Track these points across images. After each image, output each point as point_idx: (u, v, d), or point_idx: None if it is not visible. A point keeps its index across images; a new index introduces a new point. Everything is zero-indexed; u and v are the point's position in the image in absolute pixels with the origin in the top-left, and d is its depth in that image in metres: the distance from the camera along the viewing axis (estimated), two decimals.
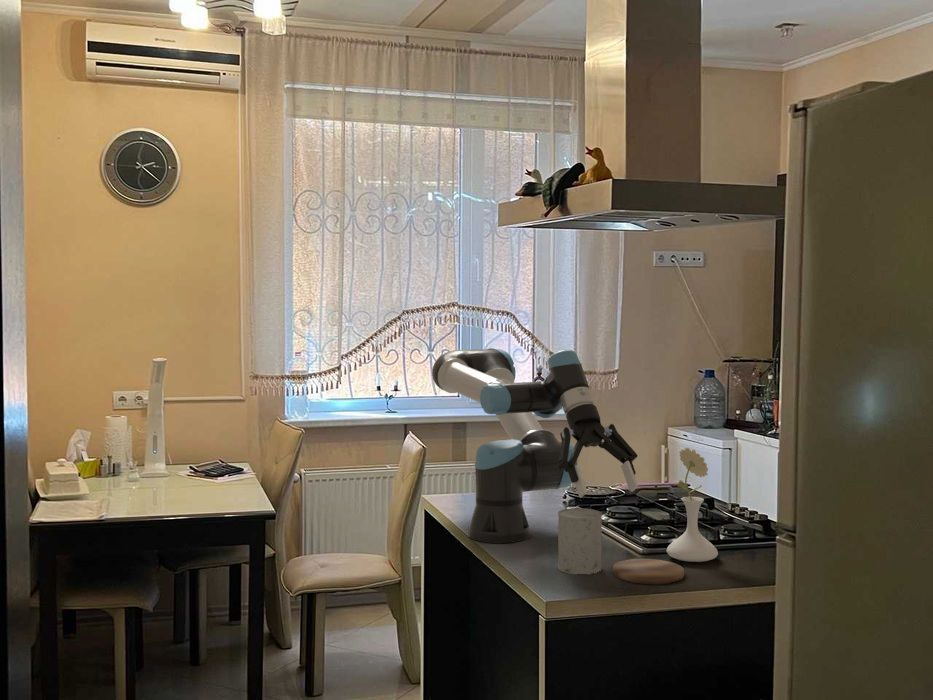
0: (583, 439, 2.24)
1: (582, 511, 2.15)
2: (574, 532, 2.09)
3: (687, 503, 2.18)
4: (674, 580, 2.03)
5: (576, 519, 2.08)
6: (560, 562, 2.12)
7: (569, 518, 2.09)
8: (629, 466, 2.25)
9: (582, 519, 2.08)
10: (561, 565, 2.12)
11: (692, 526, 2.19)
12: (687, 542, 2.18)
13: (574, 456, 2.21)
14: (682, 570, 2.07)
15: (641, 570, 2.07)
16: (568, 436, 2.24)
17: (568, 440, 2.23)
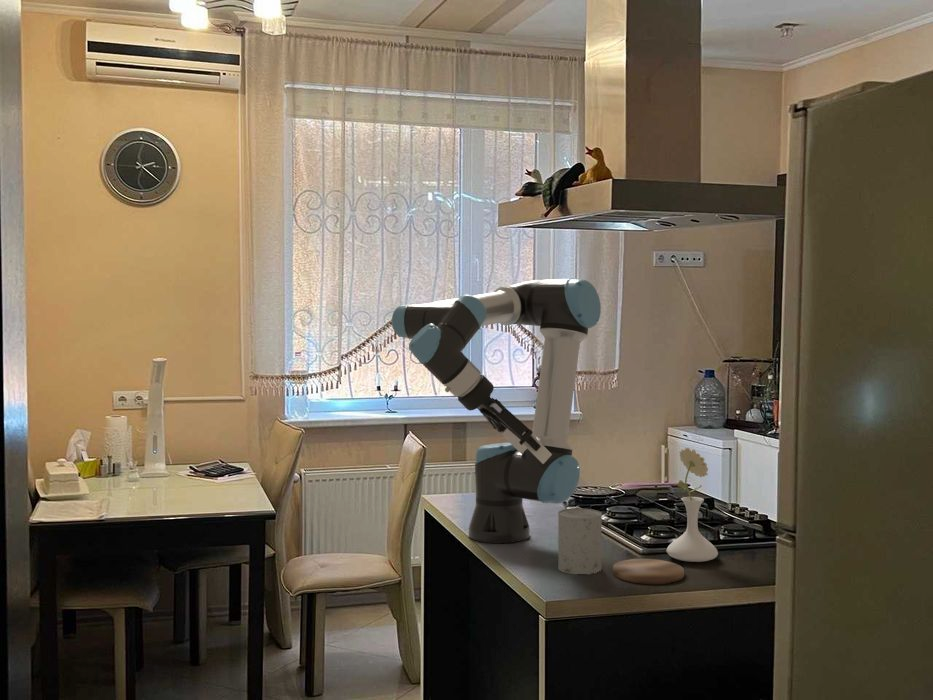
0: (486, 417, 2.09)
1: (582, 511, 2.15)
2: (574, 532, 2.09)
3: (687, 503, 2.18)
4: (674, 580, 2.03)
5: (576, 519, 2.08)
6: (560, 562, 2.12)
7: (569, 518, 2.09)
8: (526, 447, 2.02)
9: (582, 519, 2.08)
10: (561, 565, 2.12)
11: (692, 526, 2.19)
12: (687, 542, 2.18)
13: (495, 426, 2.14)
14: (682, 570, 2.07)
15: (641, 570, 2.07)
16: (479, 410, 2.12)
17: None
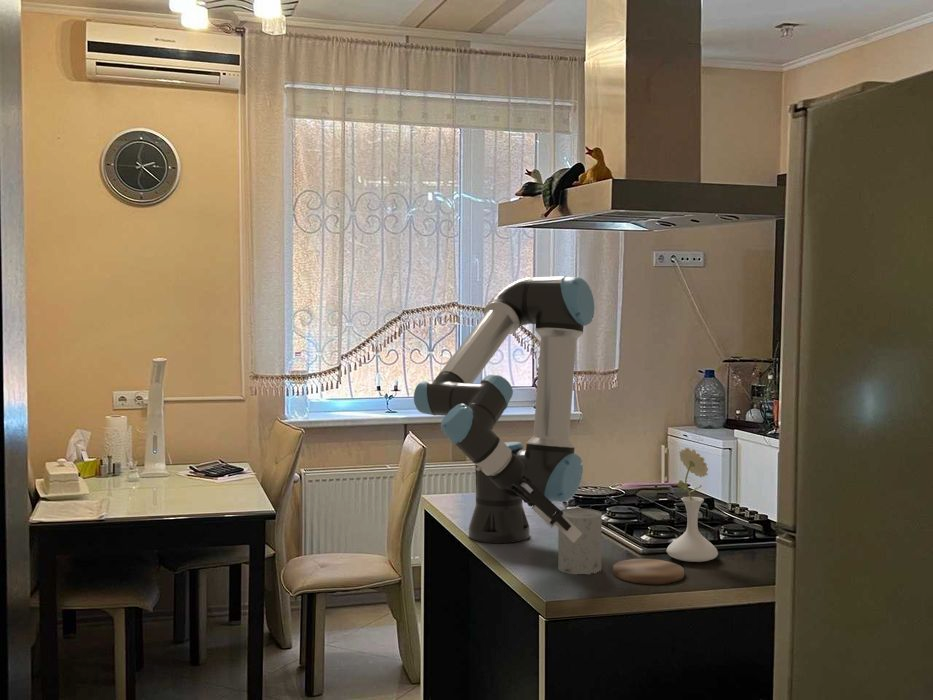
0: (517, 494, 2.11)
1: (582, 511, 2.15)
2: None
3: (687, 503, 2.18)
4: (674, 580, 2.03)
5: (576, 519, 2.08)
6: (560, 562, 2.12)
7: (569, 518, 2.09)
8: (557, 526, 2.03)
9: (582, 519, 2.08)
10: (561, 565, 2.12)
11: (692, 526, 2.19)
12: (687, 542, 2.18)
13: (525, 500, 2.15)
14: (682, 570, 2.07)
15: (641, 570, 2.07)
16: (510, 485, 2.14)
17: None
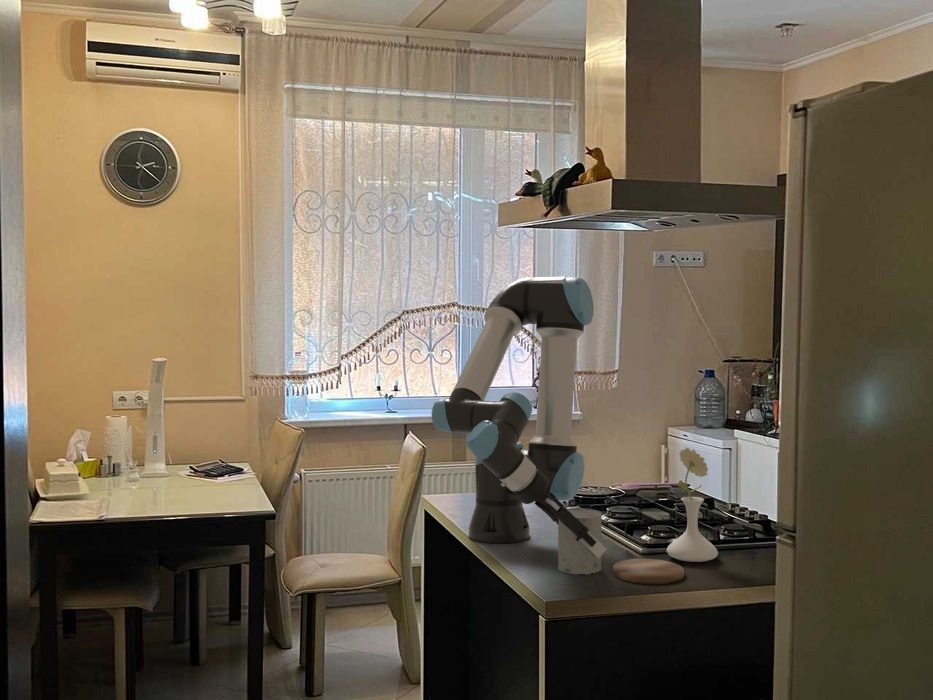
0: None
1: (582, 511, 2.15)
2: None
3: (687, 503, 2.18)
4: (674, 580, 2.03)
5: None
6: (560, 562, 2.12)
7: None
8: (582, 542, 2.08)
9: (582, 519, 2.08)
10: (561, 565, 2.12)
11: (692, 526, 2.19)
12: (687, 542, 2.18)
13: None
14: (682, 570, 2.07)
15: (641, 570, 2.07)
16: None
17: None
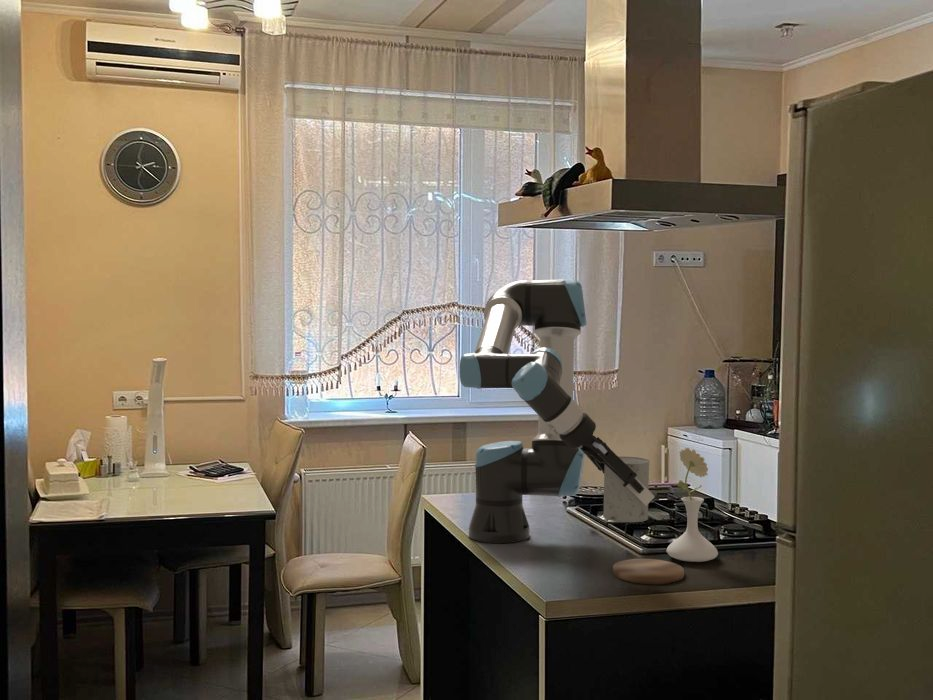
0: (588, 456, 2.08)
1: (629, 459, 2.10)
2: None
3: (687, 503, 2.18)
4: (674, 580, 2.03)
5: None
6: (605, 510, 2.07)
7: None
8: None
9: (629, 465, 2.03)
10: (606, 513, 2.06)
11: (692, 526, 2.19)
12: (687, 542, 2.18)
13: (599, 467, 2.12)
14: (682, 570, 2.07)
15: (641, 570, 2.07)
16: None
17: (584, 452, 2.12)
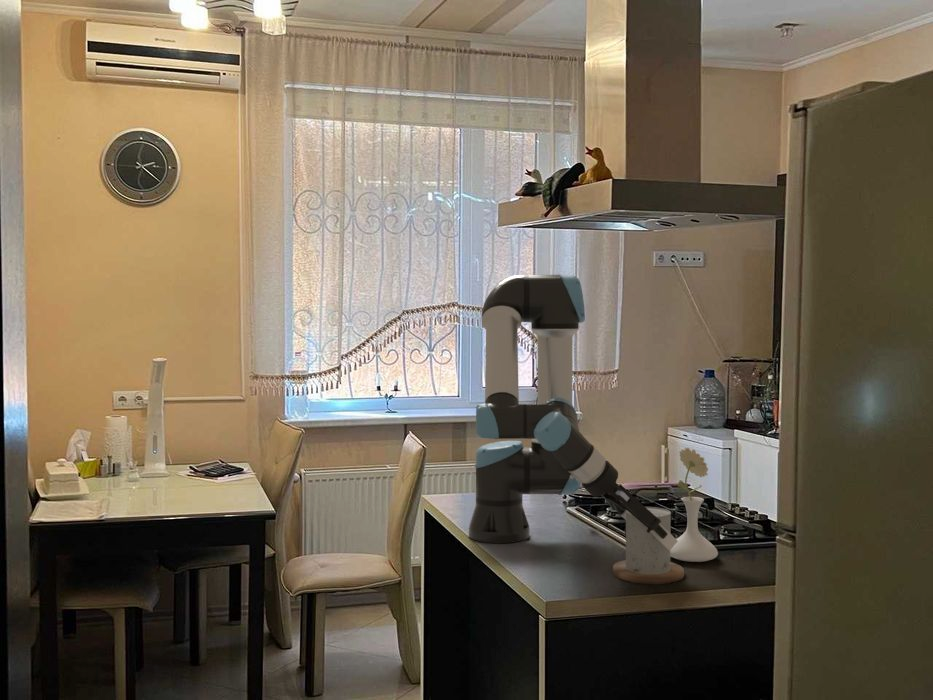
0: (608, 501, 2.09)
1: (650, 510, 2.11)
2: (644, 531, 2.04)
3: (687, 503, 2.18)
4: (674, 580, 2.03)
5: None
6: (628, 562, 2.08)
7: None
8: (653, 534, 2.02)
9: None
10: (629, 565, 2.07)
11: (692, 526, 2.19)
12: (687, 542, 2.18)
13: (615, 508, 2.14)
14: (682, 570, 2.07)
15: None
16: None
17: (602, 495, 2.13)
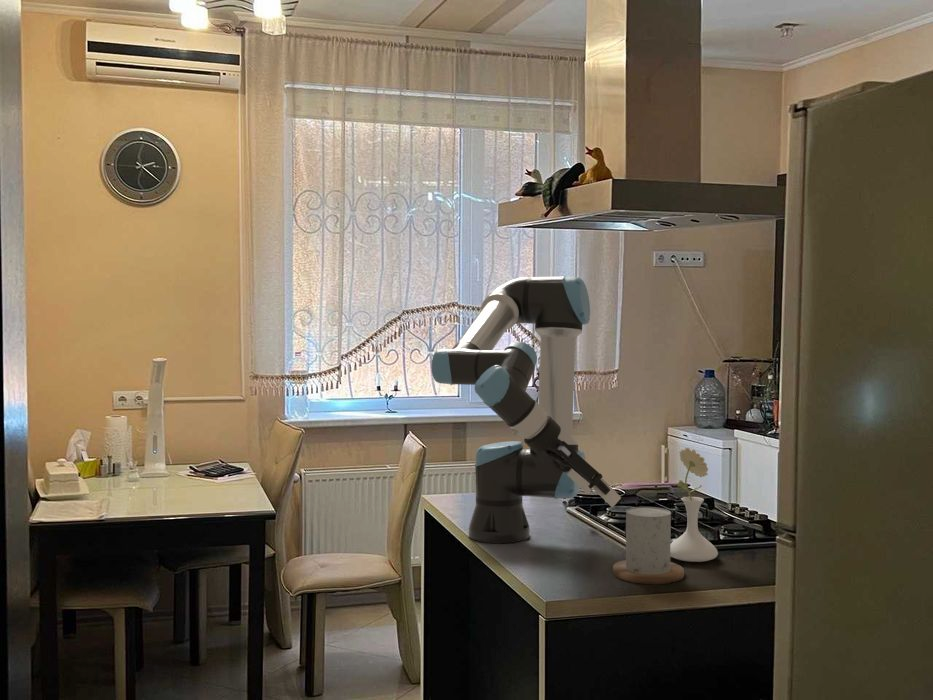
0: (552, 458, 2.05)
1: (650, 510, 2.11)
2: (644, 531, 2.04)
3: (687, 503, 2.18)
4: (674, 580, 2.03)
5: (646, 518, 2.04)
6: (628, 562, 2.08)
7: (638, 517, 2.05)
8: (595, 490, 1.98)
9: (652, 518, 2.04)
10: (629, 565, 2.07)
11: (692, 526, 2.19)
12: (687, 542, 2.18)
13: (560, 466, 2.10)
14: (682, 570, 2.07)
15: None
16: (544, 450, 2.08)
17: None
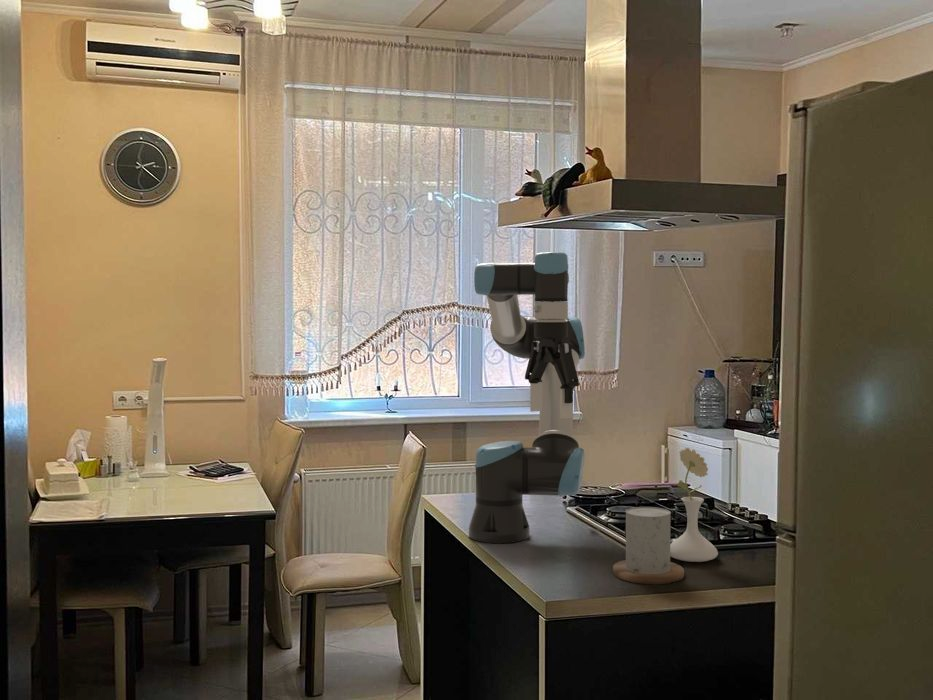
0: (537, 357, 2.23)
1: (650, 510, 2.11)
2: (643, 531, 2.04)
3: (687, 503, 2.18)
4: (674, 580, 2.03)
5: (645, 518, 2.04)
6: (628, 562, 2.08)
7: (638, 517, 2.05)
8: (561, 395, 2.14)
9: (652, 518, 2.04)
10: (629, 565, 2.07)
11: (692, 526, 2.19)
12: (687, 542, 2.18)
13: (532, 373, 2.26)
14: (682, 570, 2.07)
15: None
16: (532, 351, 2.26)
17: (531, 355, 2.26)
